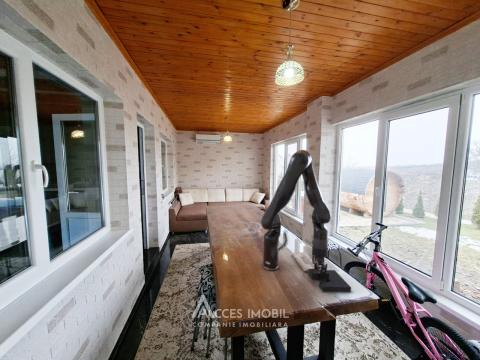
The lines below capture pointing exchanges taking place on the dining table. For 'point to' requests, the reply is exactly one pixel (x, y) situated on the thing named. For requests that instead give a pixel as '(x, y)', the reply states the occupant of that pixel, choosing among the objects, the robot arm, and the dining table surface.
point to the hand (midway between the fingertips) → (318, 276)
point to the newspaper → (304, 261)
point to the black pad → (317, 274)
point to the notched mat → (334, 283)
